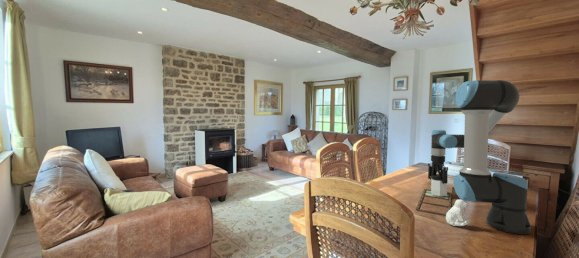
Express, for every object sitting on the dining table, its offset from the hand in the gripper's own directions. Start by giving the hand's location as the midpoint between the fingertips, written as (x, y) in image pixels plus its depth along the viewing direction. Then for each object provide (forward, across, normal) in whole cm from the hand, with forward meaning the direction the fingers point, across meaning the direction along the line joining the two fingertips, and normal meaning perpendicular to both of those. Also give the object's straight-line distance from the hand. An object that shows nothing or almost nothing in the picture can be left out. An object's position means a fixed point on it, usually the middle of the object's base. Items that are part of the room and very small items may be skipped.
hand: (436, 192), depth 156 cm
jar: (+1, -1, 0) cm, 2 cm away
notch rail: (+2, -10, +10) cm, 14 cm away
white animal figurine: (+2, -39, +25) cm, 46 cm away
